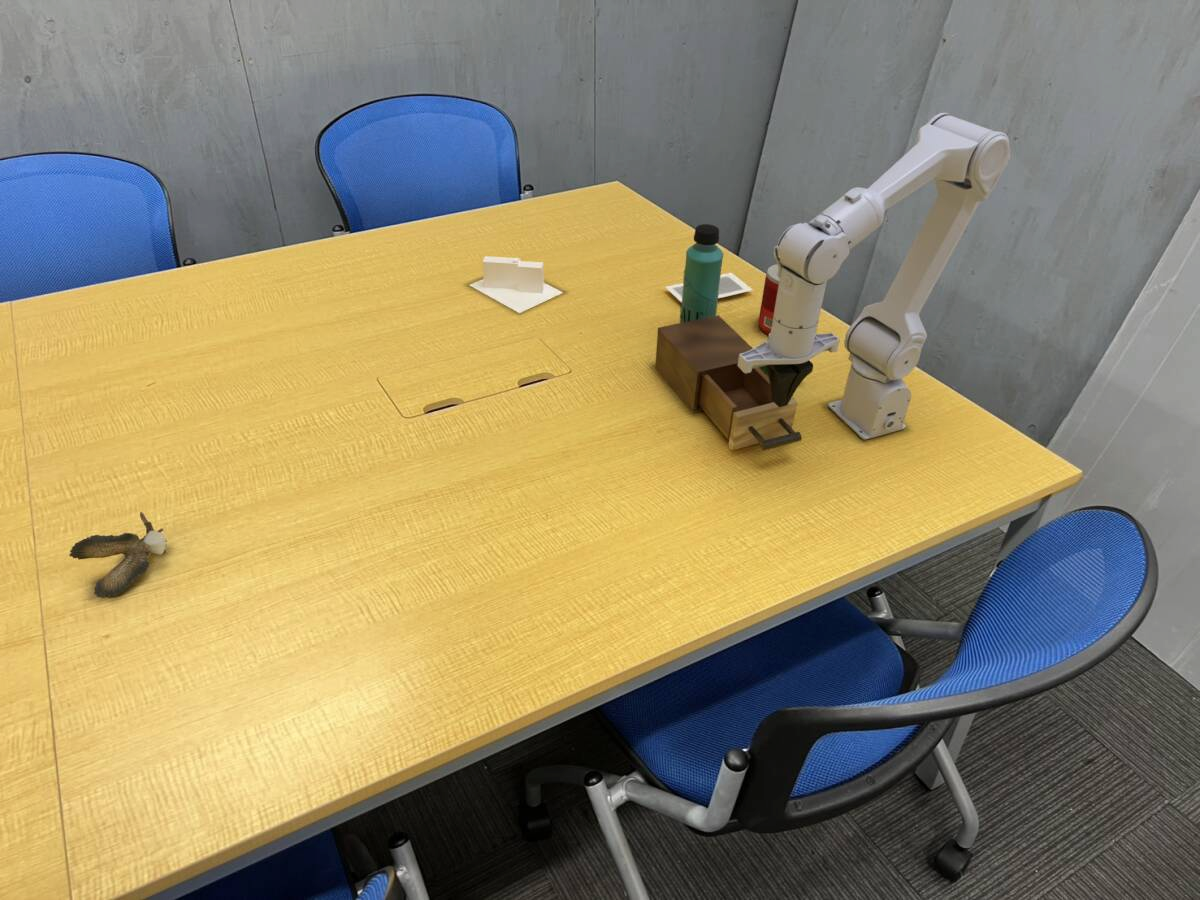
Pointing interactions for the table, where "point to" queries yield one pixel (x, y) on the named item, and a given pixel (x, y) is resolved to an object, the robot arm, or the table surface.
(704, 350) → the cabinet
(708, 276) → the beverage bottle
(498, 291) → the napkin holder
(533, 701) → the table surface
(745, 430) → the drawer
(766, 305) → the canned food
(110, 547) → the eagle figurine
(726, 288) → the touchpad
